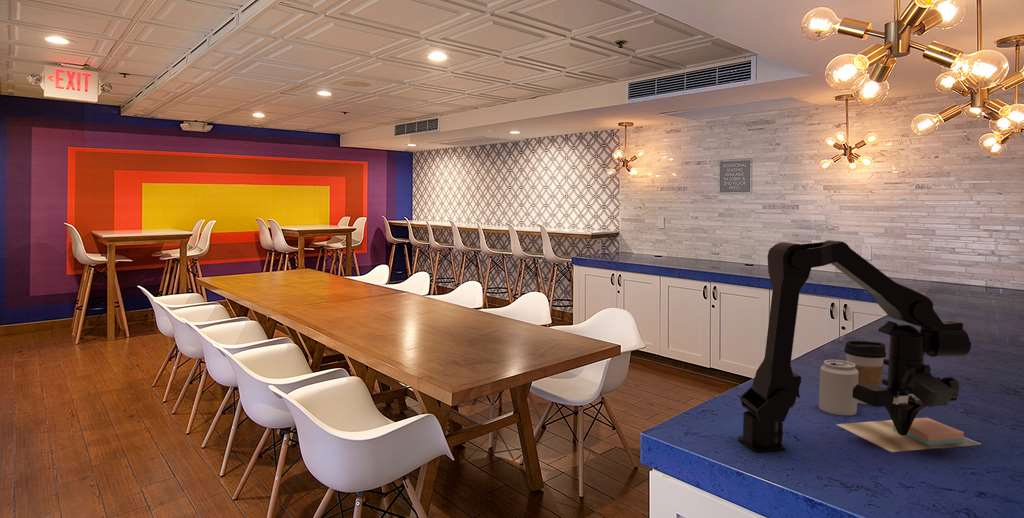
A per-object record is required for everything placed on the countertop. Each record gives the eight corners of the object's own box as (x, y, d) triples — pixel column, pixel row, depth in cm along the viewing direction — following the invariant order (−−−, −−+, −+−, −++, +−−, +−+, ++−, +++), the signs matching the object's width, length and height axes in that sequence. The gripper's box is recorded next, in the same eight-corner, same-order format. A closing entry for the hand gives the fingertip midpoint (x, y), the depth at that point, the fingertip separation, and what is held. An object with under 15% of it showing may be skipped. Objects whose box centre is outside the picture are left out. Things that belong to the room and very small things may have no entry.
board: (893, 459, 107) (893, 452, 107) (835, 429, 121) (836, 423, 121) (983, 450, 111) (983, 444, 111) (917, 423, 125) (917, 417, 125)
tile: (928, 435, 110) (963, 432, 111) (893, 420, 118) (927, 417, 119) (928, 445, 110) (963, 442, 112) (893, 429, 118) (926, 427, 119)
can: (822, 406, 136) (824, 356, 135) (859, 413, 131) (861, 361, 130) (814, 415, 130) (817, 363, 129) (853, 423, 125) (855, 368, 124)
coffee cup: (876, 413, 131) (879, 348, 130) (835, 404, 137) (839, 342, 136) (888, 405, 136) (891, 342, 135) (849, 396, 143) (852, 336, 141)
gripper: (899, 371, 103) (895, 456, 104) (987, 365, 106) (982, 447, 107) (852, 355, 114) (848, 432, 115) (932, 350, 117) (928, 425, 118)
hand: (902, 434), depth 114 cm, fingers closed
